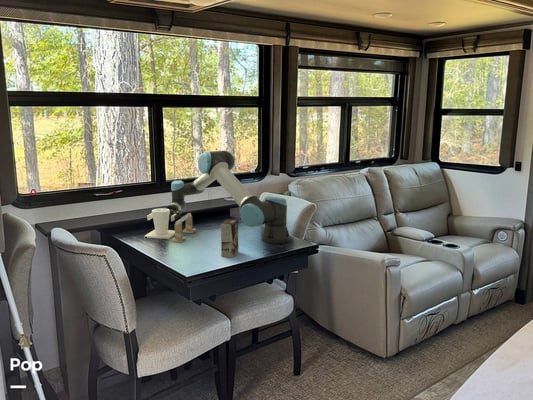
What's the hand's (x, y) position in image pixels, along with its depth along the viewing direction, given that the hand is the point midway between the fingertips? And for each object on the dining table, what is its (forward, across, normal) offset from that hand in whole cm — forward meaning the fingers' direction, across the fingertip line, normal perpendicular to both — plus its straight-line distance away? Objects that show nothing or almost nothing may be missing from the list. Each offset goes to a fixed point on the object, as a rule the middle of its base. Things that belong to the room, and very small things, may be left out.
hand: (159, 218), depth 250 cm
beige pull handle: (-1, -13, -10) cm, 16 cm away
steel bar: (-1, -13, -1) cm, 13 cm away
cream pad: (-1, 0, -10) cm, 10 cm away
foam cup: (-1, 0, -9) cm, 9 cm away
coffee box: (+26, -45, -10) cm, 53 cm away
